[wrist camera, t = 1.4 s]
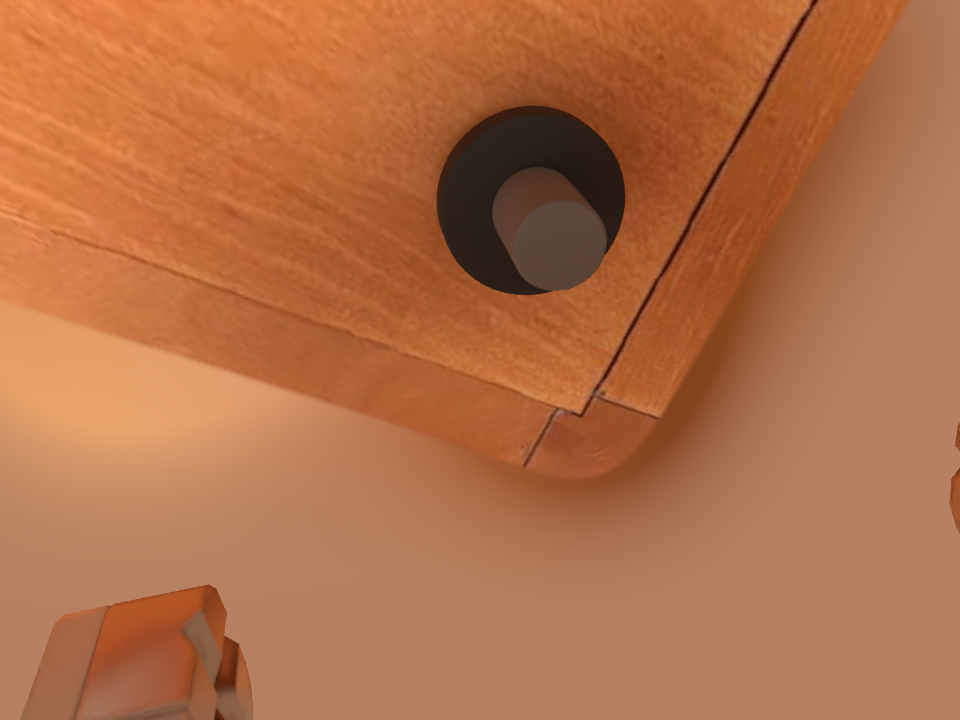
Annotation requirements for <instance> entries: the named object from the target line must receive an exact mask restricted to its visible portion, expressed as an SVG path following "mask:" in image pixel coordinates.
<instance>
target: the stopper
mask: <svg viewBox="0 0 960 720" xmlns="http://www.w3.org/2000/svg"><path fill="white" fill-rule="evenodd" d="M624 208H625V186H624V180H623V175H622V171H621V169H620V166H619V163H618V161H617V159H616V157H615V155H614V153H613V152H612V150H611V149H610V147H609V146H608V145H607V143H606V142H605V141H604V140H603V139H602V138H601V137H600V136H599V135H598V134H597V133H596V132H595V131H594V130H593V129H591V128H590V127H589V126H588V125H587V124H585V123H584V122H583V121H581V120H580V119H578V118H576V117H575V116H573V115H571V114H569V113H566V112H564V111H561V110H558V109H554V108H550V107H543V106H523V107H517V108H512V109H508V110H505V111H502V112H499V113H497V114H494V115H492V116H490V117H488V118H486V119H485V120H483V121H482V122H480V123H479V124H477V125H476V126H474V127H473V128H472V129H471V130H470V131H469V132H467V133H466V134H465V135H464V137H463V138H462V139H461V140H460V141H459V142H458V143H457V145H456V146H455V147H454V149H453V150H452V152H451V153H450V155H449V157H448V159H447V161H446V163H445V165H444V167H443V170H442V173H441V176H440V180H439V184H438V190H437V213H438V218H439V223H440V226H441V229H442V232H443V235H444V238H445V241H446V243H447V245H448V247H449V249H450V251H451V253H452V255H453V257H454V258H455V259H456V261H457V262H458V264H459V265H460V266H461V267H462V268H463V269H464V270H465V271H466V272H467V273H468V274H469V275H470V276H471V277H473V278H474V279H475V280H477V281H479V282H480V283H482V284H483V285H485V286H488V287H490V288H492V289H494V290H497V291H501V292H504V293H509V294H516V295H535V294H542V293H547V292H552V291H559V290H566V289H570V288H573V287H575V286H577V285H580V284H581V283H583V282H584V281H586V280H587V279H588V278H590V277H591V276H592V275H593V274H594V272H595V271H596V270H597V269H598V267H599V265H600V264H601V262H602V260H603V257H604V256H605V254H606V253H607V252H608V250H609V249H610V247H611V245H612V244H613V242H614V240H615V238H616V236H617V233H618V231H619V228H620V225H621V222H622V219H623V213H624Z"/></svg>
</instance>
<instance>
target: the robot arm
mask: <svg viewBox="0 0 960 720" xmlns="http://www.w3.org/2000/svg"><path fill="white" fill-rule="evenodd" d="M955 445H956V447H957V448H958V449H959V451H960V424H959V425H958V430H957V437H956V444H955ZM950 506H951V510H952V514H953V517H954V520H955V524H956V527H957V529H958V531H959V533H960V468H959V470H958V471H957V472H956V474H955V475H954V476H953V478H952V479H951V492H950ZM226 615H227V612H226V610H225V608H224V605H223V604H222V601H221V598H220V596H219V594H218V591H217V589H216V588H214V587H212V586H211V585H204V586H199V587H195V588H189V589H185V590H180V591H175V592H170V593H165V594H161V595H155V596H150V597H146V598H141V599H136V600H131V601H126V602H121V603H116V604H114V605H112V606H104V607H100V608H95V609H90V610H86V611H81V612H76V613H72V614H67V615H64V616H63V617H62V618H61V619H59V620H58V621H57V622H56V623H55V625H54V626H53V629H52V631H51V634H50V637H49V640H48V643H47V645H46V648H45V651H44V654H43V657H42V660H41V663H40V665H39V668H38V671H37V674H36V676H35V679H34V682H33V685H32V688H31V690H30V693H29V696H28V699H27V702H26V704H25V707H24V710H23V713H22V716H21V719H20V720H253V703H252V692H251V682H250V678H249V674H248V670H247V666H246V662H245V659H244V656H243V654H242V651H241V648H240V646H239V644H238V643H236V642H234V641H233V640H231V639H229V638H228V637H226V636H224V633H225V624H226Z"/></svg>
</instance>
